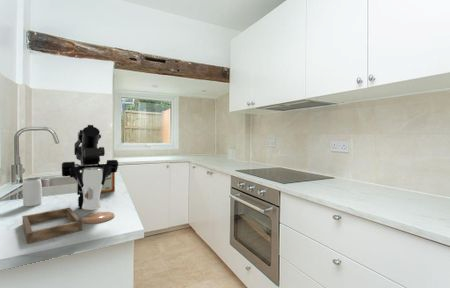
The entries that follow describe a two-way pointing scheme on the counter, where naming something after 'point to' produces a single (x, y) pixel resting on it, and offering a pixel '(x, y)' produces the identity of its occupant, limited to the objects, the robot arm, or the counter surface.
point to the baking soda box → (109, 183)
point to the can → (32, 192)
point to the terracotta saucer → (97, 217)
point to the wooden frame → (51, 231)
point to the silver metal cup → (91, 187)
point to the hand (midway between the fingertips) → (92, 185)
